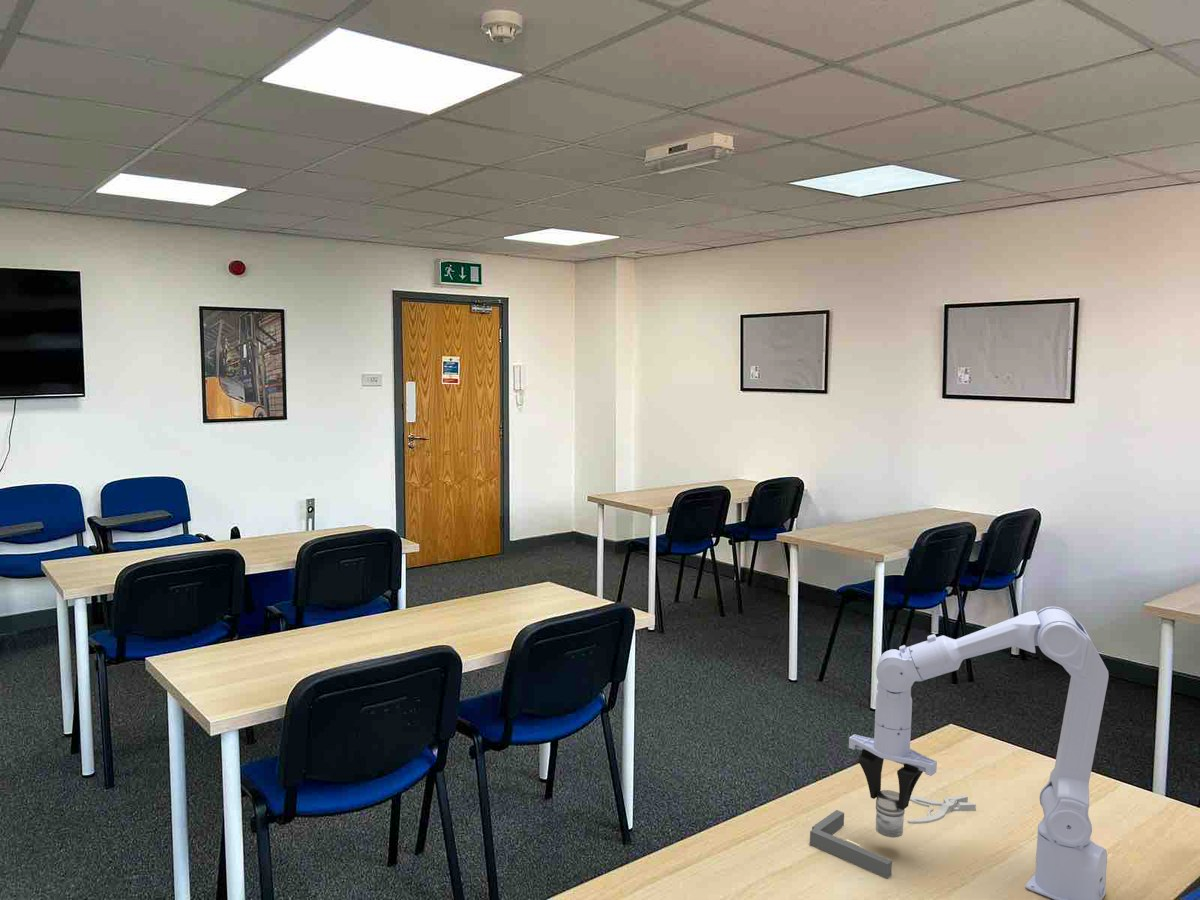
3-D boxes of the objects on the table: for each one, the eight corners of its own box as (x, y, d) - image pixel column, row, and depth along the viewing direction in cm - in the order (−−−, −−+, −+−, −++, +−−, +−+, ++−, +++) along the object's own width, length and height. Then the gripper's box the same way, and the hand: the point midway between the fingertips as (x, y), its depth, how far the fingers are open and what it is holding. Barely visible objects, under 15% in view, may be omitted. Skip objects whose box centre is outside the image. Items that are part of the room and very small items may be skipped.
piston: (908, 831, 143) (910, 797, 143) (894, 840, 140) (896, 806, 140) (883, 820, 147) (885, 787, 146) (869, 829, 144) (871, 795, 143)
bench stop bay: (914, 854, 143) (915, 840, 143) (887, 878, 136) (887, 863, 136) (836, 822, 153) (836, 809, 153) (807, 843, 146) (807, 829, 146)
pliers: (883, 791, 163) (956, 787, 165) (883, 799, 163) (956, 795, 165) (909, 817, 153) (986, 812, 155) (909, 826, 153) (986, 821, 155)
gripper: (946, 729, 140) (942, 809, 141) (864, 705, 150) (860, 779, 151) (927, 741, 134) (923, 824, 136) (844, 715, 145) (840, 792, 146)
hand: (889, 801), depth 143 cm, fingers open, 4 cm apart
